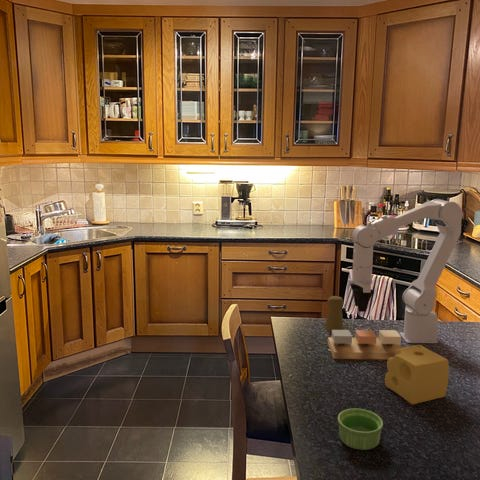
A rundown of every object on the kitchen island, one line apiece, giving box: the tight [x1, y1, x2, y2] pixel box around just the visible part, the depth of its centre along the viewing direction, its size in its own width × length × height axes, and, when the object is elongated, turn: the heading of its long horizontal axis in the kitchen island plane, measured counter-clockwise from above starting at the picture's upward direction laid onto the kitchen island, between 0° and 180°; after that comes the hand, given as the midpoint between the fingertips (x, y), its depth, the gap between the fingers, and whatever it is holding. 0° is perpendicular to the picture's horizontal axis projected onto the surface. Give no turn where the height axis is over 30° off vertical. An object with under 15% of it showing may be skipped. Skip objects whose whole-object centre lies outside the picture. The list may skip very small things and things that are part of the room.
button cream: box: [378, 329, 402, 345], centre depth 141 cm, size 5×5×2 cm
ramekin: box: [337, 408, 384, 451], centre depth 99 cm, size 9×9×4 cm
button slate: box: [331, 329, 353, 344], centre depth 142 cm, size 5×5×2 cm
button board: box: [327, 336, 402, 360], centre depth 142 cm, size 20×11×3 cm, turn 88°
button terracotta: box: [354, 329, 378, 344], centre depth 141 cm, size 5×5×2 cm
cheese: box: [384, 344, 450, 405], centre depth 118 cm, size 10×11×10 cm
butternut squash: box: [324, 295, 345, 333], centre depth 159 cm, size 6×6×11 cm
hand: (360, 308), depth 148 cm, fingers open, 4 cm apart
